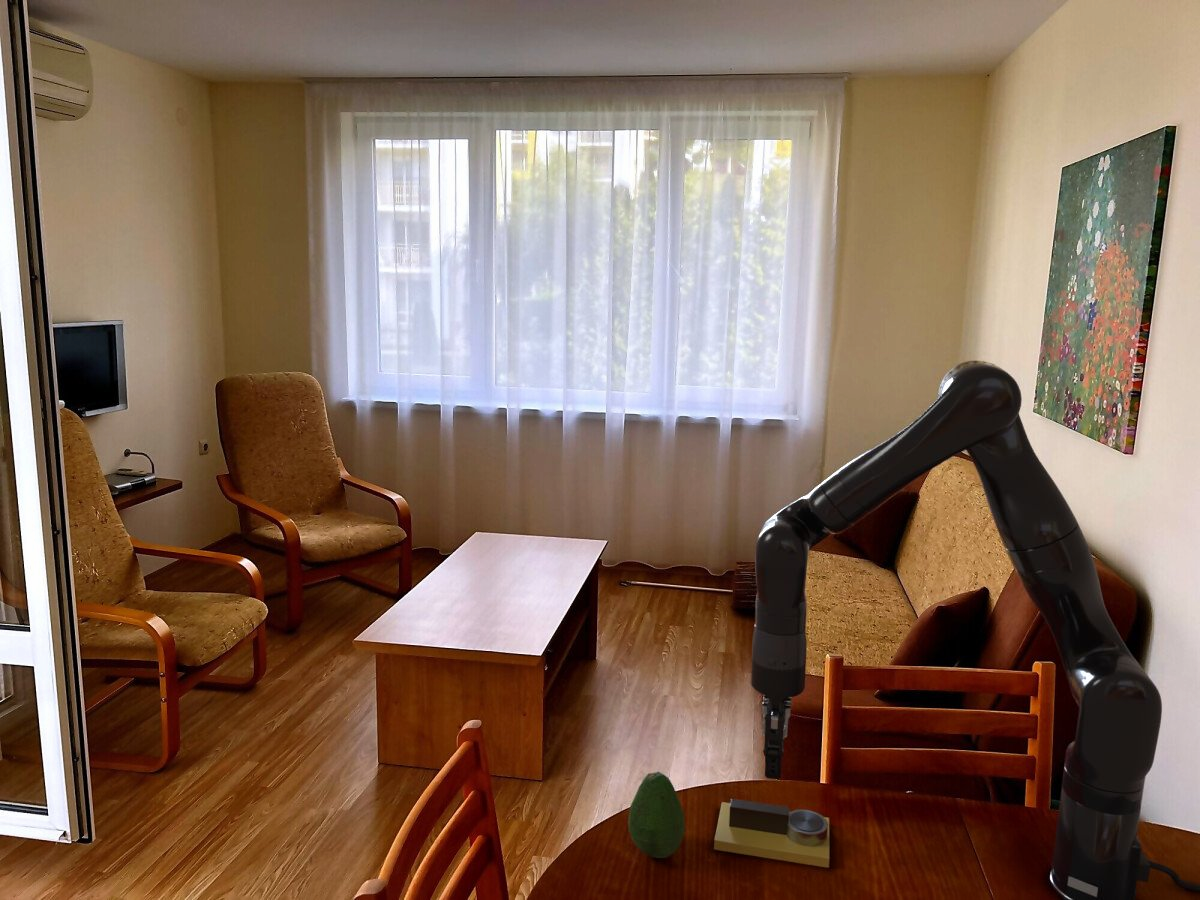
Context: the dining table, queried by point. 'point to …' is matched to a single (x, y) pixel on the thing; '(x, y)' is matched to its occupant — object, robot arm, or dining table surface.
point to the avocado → (656, 817)
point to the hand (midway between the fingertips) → (774, 762)
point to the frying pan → (779, 821)
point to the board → (767, 843)
